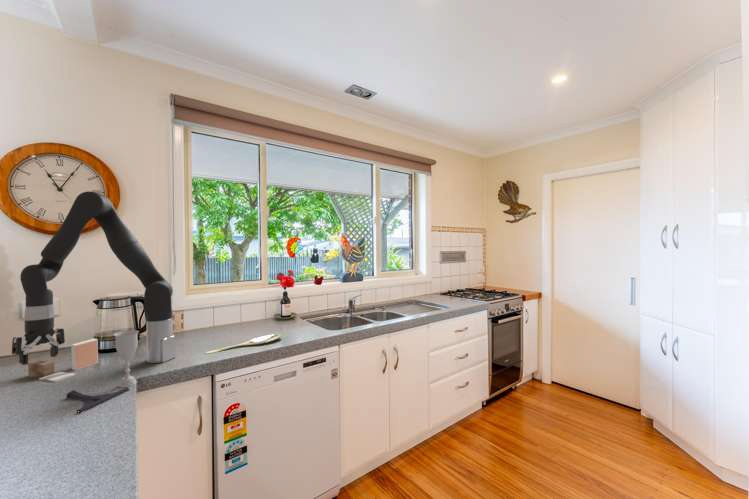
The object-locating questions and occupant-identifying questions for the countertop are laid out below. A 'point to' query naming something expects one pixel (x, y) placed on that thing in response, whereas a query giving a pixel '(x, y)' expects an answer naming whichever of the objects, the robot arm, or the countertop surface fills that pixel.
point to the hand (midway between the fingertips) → (39, 360)
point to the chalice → (127, 352)
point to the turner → (46, 371)
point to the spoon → (251, 342)
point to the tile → (84, 354)
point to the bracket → (93, 398)
